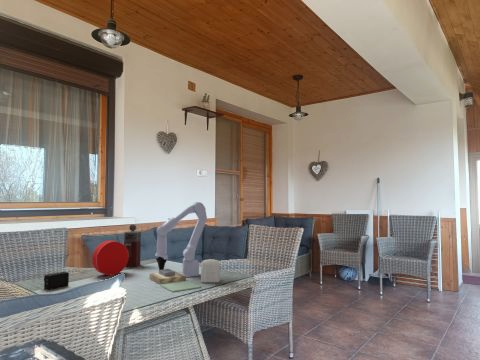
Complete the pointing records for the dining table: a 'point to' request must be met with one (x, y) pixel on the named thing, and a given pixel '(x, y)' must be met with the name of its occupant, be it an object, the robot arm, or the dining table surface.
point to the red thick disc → (110, 257)
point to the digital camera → (56, 280)
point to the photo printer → (210, 271)
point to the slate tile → (167, 272)
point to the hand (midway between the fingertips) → (161, 270)
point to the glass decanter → (133, 246)
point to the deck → (167, 278)
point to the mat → (180, 286)
